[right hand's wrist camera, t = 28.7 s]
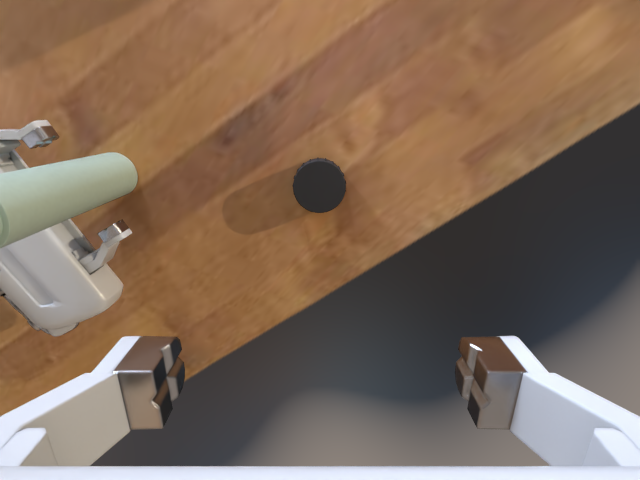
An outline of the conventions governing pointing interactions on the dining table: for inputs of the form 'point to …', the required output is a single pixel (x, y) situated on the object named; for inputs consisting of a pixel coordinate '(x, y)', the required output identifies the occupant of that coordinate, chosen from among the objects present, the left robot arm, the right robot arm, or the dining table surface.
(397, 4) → the dining table surface
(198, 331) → the dining table surface
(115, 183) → the pale green cylinder
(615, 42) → the dining table surface
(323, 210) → the lid
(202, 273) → the dining table surface
